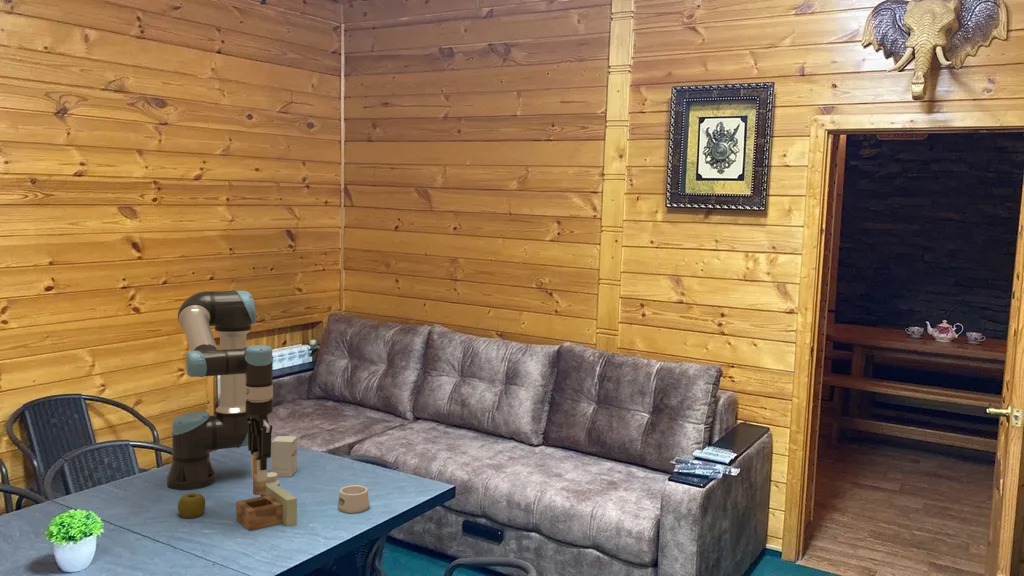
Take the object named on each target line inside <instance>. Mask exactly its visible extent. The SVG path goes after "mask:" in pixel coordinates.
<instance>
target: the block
mask: <svg viewBox="0 0 1024 576" xmlns="http://www.w3.org/2000/svg"><path fill="white" fill-rule="evenodd" d="M235 506H236V507H235V516H236V518H235V519H236V520H235V521H237V522H239V524H241V525H242V527H244V528H245V529H246V530H248V531H249V532H251V531H254V530H258V529H259V530H260V529H263V528H267V527H271V526H276V525H280V524H283V505H282V504H281V503H280V502H278V501H277V500H275V499H274V498H273V497H271V496H270V495H266V496H262V497H260V496H257V497H254V498H253V497H252V498H248V499H244V500H239V501H236V504H235Z"/></svg>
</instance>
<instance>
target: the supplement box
mask: <svg viewBox="0 0 1024 576" xmlns="http://www.w3.org/2000/svg"><path fill="white" fill-rule="evenodd" d="M270 459H271V460H270V472H274V473H277V474H278V478H279V477H280V478H283V477H284V478H292V477H293V475H294V474H295V473H296V472H297V471H298V436H295V435H293V436H292V435H289V436H288V435H280V436H279V435H277V436H276V437H274V438H273V440H271V457H270Z"/></svg>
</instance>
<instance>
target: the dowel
mask: <svg viewBox="0 0 1024 576" xmlns="http://www.w3.org/2000/svg"><path fill="white" fill-rule="evenodd" d="M258 457H259V456H258V452H254V453H253V478H252V479H253V480H252V494H253V495H254V496H260V495H264V494H266V480H263V481H257V460H256V458H258Z"/></svg>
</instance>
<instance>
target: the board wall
mask: <svg viewBox="0 0 1024 576" xmlns="http://www.w3.org/2000/svg"><path fill="white" fill-rule="evenodd" d="M266 495H270V496H271V497H273V498H274V499H275V500H277V501H278V502H280V503H281V504H282V505H283V523H282V524H283V525H284V526H286V527H291V526H295V525H297V522H298V519H297V518H298V513H297V512H298V508H297V506H298V503H297V502H298V499H297V497H295V496H294V495H292V493H290V492H289V491H287V490H286V489H284V488H283V487H281V486H280V485H279V486H278V485H277V484H275V483H273V484H268V485H266V494H265V496H266Z"/></svg>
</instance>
